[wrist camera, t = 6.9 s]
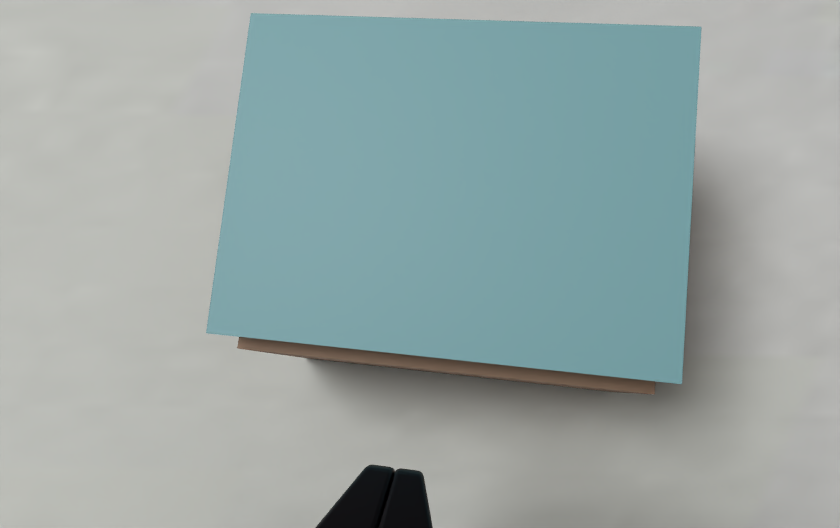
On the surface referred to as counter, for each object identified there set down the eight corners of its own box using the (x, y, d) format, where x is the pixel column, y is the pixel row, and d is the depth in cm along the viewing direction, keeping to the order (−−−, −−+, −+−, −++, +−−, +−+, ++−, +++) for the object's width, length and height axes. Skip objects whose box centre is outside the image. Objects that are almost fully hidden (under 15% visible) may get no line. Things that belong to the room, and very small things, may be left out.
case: (613, 392, 18) (654, 394, 13) (304, 357, 19) (237, 348, 14) (626, 154, 19) (669, 75, 14) (335, 137, 20) (283, 60, 15)
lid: (668, 381, 13) (681, 384, 12) (227, 334, 14) (206, 333, 13) (687, 49, 14) (701, 26, 13) (267, 35, 15) (250, 12, 14)
